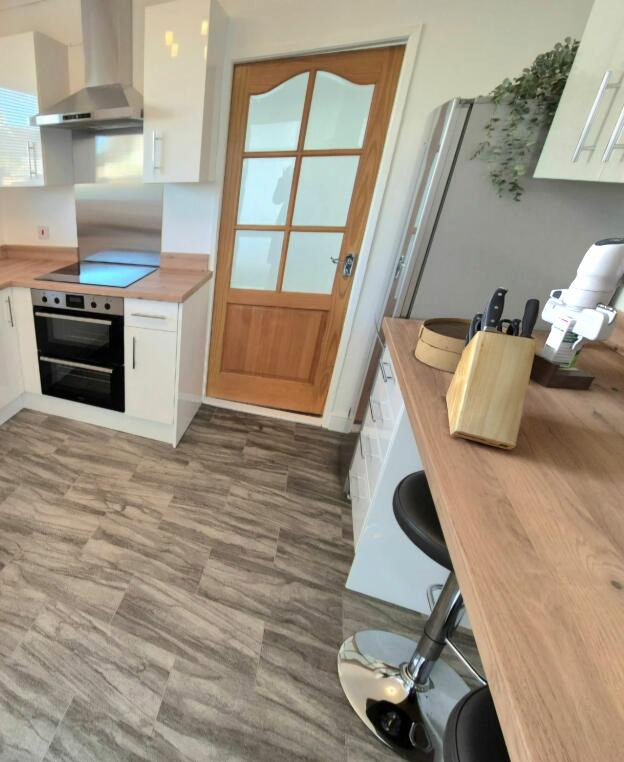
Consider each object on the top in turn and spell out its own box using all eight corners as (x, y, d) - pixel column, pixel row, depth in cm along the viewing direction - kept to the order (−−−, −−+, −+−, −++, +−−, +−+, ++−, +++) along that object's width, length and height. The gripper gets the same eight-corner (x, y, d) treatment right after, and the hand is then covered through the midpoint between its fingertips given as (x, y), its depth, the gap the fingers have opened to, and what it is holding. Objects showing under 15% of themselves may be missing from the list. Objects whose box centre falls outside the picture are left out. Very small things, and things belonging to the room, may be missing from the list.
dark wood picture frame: (547, 366, 137) (557, 346, 134) (588, 389, 123) (600, 367, 120) (508, 364, 139) (517, 344, 136) (545, 386, 125) (556, 365, 121)
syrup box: (548, 366, 127) (571, 319, 121) (537, 358, 132) (558, 313, 126) (572, 368, 126) (596, 321, 119) (560, 360, 131) (583, 315, 124)
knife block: (492, 394, 120) (540, 285, 107) (511, 457, 94) (579, 323, 80) (443, 384, 126) (483, 279, 112) (448, 441, 100) (502, 313, 86)
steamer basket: (399, 358, 144) (409, 326, 139) (429, 342, 157) (439, 312, 152) (490, 384, 126) (506, 349, 121) (515, 363, 139) (530, 330, 134)
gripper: (634, 309, 110) (606, 359, 116) (571, 290, 128) (550, 333, 135) (606, 308, 111) (580, 357, 117) (547, 289, 129) (527, 332, 135)
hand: (563, 344), depth 126 cm, fingers closed on syrup box, 6 cm apart
